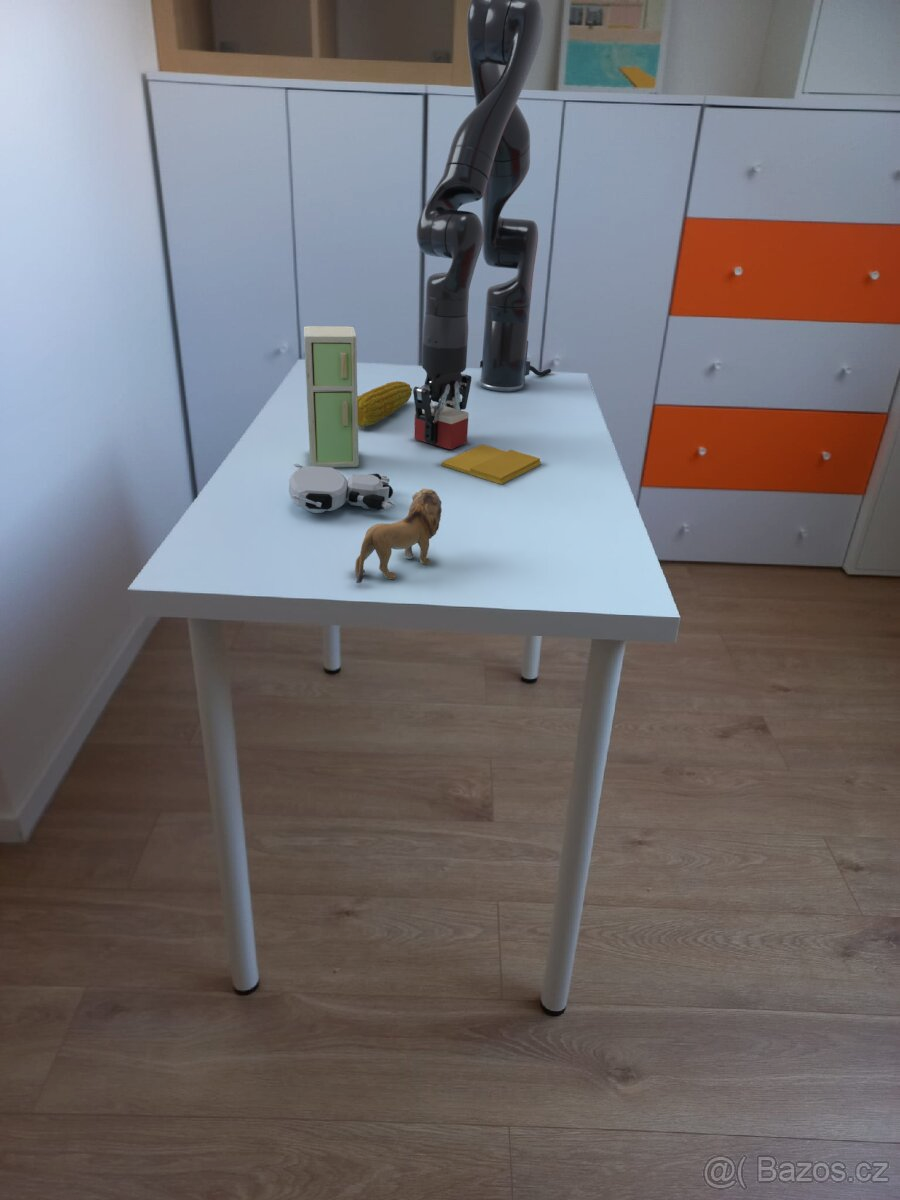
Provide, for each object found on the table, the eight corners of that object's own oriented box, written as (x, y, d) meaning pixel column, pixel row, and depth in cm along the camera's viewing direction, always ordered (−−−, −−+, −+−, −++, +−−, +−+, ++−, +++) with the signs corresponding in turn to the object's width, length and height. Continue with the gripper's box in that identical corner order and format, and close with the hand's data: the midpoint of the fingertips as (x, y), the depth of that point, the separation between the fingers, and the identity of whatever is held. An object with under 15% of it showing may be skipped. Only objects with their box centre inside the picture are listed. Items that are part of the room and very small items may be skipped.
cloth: (482, 447, 146) (482, 441, 145) (540, 464, 140) (541, 458, 139) (441, 465, 137) (441, 459, 137) (501, 484, 131) (502, 478, 131)
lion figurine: (418, 542, 112) (420, 480, 108) (449, 554, 110) (453, 491, 105) (342, 580, 102) (341, 513, 98) (374, 595, 99) (374, 527, 95)
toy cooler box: (467, 442, 147) (468, 412, 144) (450, 449, 143) (451, 418, 141) (431, 432, 151) (432, 402, 148) (414, 438, 147) (414, 408, 145)
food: (372, 433, 149) (372, 401, 146) (344, 429, 151) (344, 396, 148) (417, 403, 167) (418, 373, 164) (391, 398, 168) (391, 369, 165)
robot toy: (388, 493, 128) (289, 487, 126) (390, 465, 126) (290, 459, 123) (394, 527, 118) (287, 521, 115) (397, 498, 116) (288, 491, 113)
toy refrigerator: (309, 470, 133) (303, 336, 122) (308, 454, 139) (303, 325, 128) (359, 469, 134) (358, 337, 123) (356, 453, 140) (355, 326, 130)
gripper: (437, 352, 131) (433, 454, 140) (487, 338, 142) (481, 434, 150) (400, 343, 135) (398, 443, 144) (452, 330, 145) (447, 424, 154)
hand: (440, 438), depth 147 cm, fingers closed on toy cooler box, 5 cm apart
